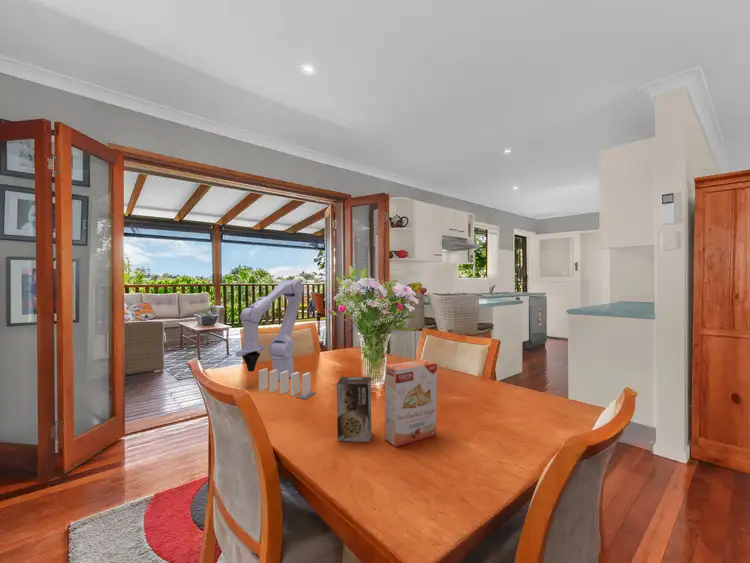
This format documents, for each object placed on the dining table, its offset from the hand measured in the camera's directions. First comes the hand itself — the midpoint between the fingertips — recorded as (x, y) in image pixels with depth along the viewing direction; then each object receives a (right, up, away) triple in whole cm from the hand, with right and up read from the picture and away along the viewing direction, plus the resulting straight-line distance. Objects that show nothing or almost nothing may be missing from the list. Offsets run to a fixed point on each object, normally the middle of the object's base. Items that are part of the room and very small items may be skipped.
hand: (251, 371), depth 142 cm
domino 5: (+24, -7, -10) cm, 27 cm away
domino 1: (+6, -7, -2) cm, 9 cm away
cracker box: (+60, -8, -44) cm, 75 cm away
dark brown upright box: (+44, -8, -44) cm, 63 cm away
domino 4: (+20, -7, -8) cm, 22 cm away
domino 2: (+10, -7, -4) cm, 13 cm away
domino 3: (+15, -7, -6) cm, 17 cm away
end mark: (+24, -7, -10) cm, 27 cm away
